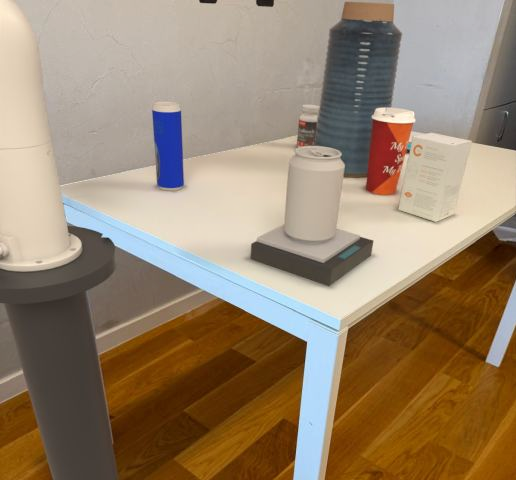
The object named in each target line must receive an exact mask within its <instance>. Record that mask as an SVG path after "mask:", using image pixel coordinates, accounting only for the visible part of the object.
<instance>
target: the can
mask: <svg viewBox="0 0 516 480" xmlns="http://www.w3.org/2000/svg"><path fill="white" fill-rule="evenodd" d="M294 153H295V154H294V155H293V156H292V157H291V158H290V159H289V161H288V169H287V179H286V192H285V193H286V196H285V207H284V208H285V210H284V220H283V225H284V231H285V232H286V233H287V234H288V235H289V237H290V238H291V239H292V240H294V241H297V242H300V243H304V244H321V243H325V242H327V241H328V240H329V239H330V238H332V237H333V236H334V235H335V233H336V229H337V225H338V219H339V211H340V205H341V197H342V189H343V182H344V177H343V176H344V168H345V164H344V163H343V161H342V160H341V158H340V157H341V155H342V153H341V152H340V151H338V150H336V149H333V148H329V147H322V146H303V147H297V148H295V149H294Z"/></svg>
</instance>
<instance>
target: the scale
mask: <svg viewBox="0 0 516 480" xmlns="http://www.w3.org/2000/svg"><path fill="white" fill-rule="evenodd" d="M373 246H374V240H373V239H370V238H367V237H363V236H361V234H357V233H353V232H350V231H346V230H344V229H343V230H342V229H339V228H336V233H335V235H334V236H333V237H332V238H330V239H329V240H328V241H327V242H325V243H321V244H304V243H300V242H297V241H294V240H292V239H291V238H290V237H289V235H288V234H287V233H286V232H285V231H284V224H282V225H279V226H277V227H275V228H274V229H272V230H269V231H267V232H266V233H264V234H262V235H260V236H257V237H256V241H254V242H251V245H250V260H253V261H256V262H259V263H261V264H265V265H267V266H270V267H273V268H276V269H279V270H282V271H286V272H288V273H291V274H293V275H296V276H299V277H302V278H305V279H309V280H311V281H314V282H317V283H320V284H322V285H326V286H327V287H328V286H332V285H333V284H334V283H336V282H337V281H338V280H340V279H341V278H342V277H344V276H345V275H346V274H348V273H349V272H350V271H352V270H353V269H354V268H356V267H357V266H359V265H360V264H361V263H363V262H364V261H365V260H367V259H368V258H369V257H371V256H372V253H373V252H372V251H373Z"/></svg>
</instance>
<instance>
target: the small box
mask: <svg viewBox="0 0 516 480" xmlns="http://www.w3.org/2000/svg"><path fill="white" fill-rule="evenodd" d="M411 142H412V143H411V148H410V153H408V157H407V158H408V159H407V164H406V168H405V173H404V177H403V183H402V188H401V193H400V198H399V203H398V211H401V212H404V213H407V214H410V215H413V216H416V217H420V218H423V219H425V220H428V221H432V222H435V223H437V222H439V221H441V220H444V219H446V218H449V217H451V216H453V215H454V213H455V209H456V206H457V203H458V197H459V195H460V194H459V193H460V190H461V186H462V182H463V178H464V175H465V171H466V167H467V164H468V163H467V162H468V159H469V155H470V152H471V148H472V144H473V140H469V139H465V138H459V137H455V136H450V135H445V134H440V133H435V132H428V133H423V134H417V135H413V136H412V138H411Z"/></svg>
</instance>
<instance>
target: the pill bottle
mask: <svg viewBox="0 0 516 480" xmlns="http://www.w3.org/2000/svg"><path fill="white" fill-rule="evenodd" d="M301 111H302V114H301V115H299V119H298V126H297V127H298V128H297V138H296V147H297V148H299V147H303V146H314V141H315V131H316V124H317V116H318V114H319V105H317V104H303V105H302V108H301Z"/></svg>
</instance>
